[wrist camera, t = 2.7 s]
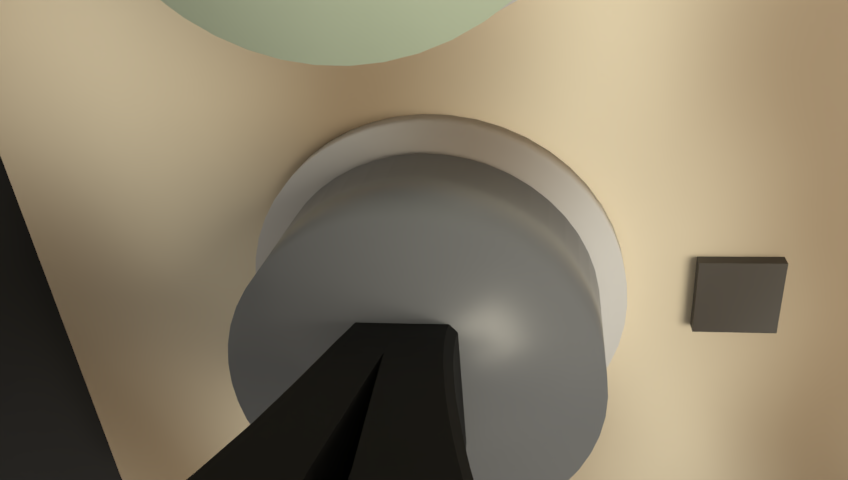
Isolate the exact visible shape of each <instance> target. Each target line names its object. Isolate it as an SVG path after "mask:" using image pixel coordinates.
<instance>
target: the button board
mask: <svg viewBox="0 0 848 480" xmlns="http://www.w3.org/2000/svg"><path fill="white" fill-rule="evenodd" d="M410 154H438V155H448V156H454V157H460V158H466V159H470V160H473V161H476V162H480V163H483V164H487V165H490V166H492V167H494V168H497V169H499V170H501V171H504V172H506V173H508V174H511V175H512V176H514V177H516V178H518V179H519V180H521V181H523V182H524V183H526V184H528V185H529V186H531V187H532V188H534V189H535V190H536V191H538V192H539V193H540V194H542V195H543V196H544V197H545V198H547V199H548V200H549V201H550V202H551V203H552V204H553V205H554V206H555V207H556V208H557V209H558V210H559V211H560V212H561V213H562V214H563V215H564V216H565V217H566V218H567V220H568V221H569V222H570V224H571V225H572V226H573V227H574V229H575V230H576V231H577V233H578V234H579V236H580V238H581V240H582V242H583V243H584V245H585V247H586V249H587V251H588V253H589V255H590V258H591V261H592V263H593V266H594V269H595V272H596V277H597V282H598V287H599V294H600V304H601V315H602V326H603V337H604V347H605V358H606V369H607V383H608V402H607V409H606V417H605V420H604V424H603V427H602V430H601V433H600V436H599V438H598V440H597V442H596V444H595V446H594V448H593V450H592V452H591V454H590V455H589V457H588V458H587V459H586V461H585V462H584V463H583V465H582V466H581V468H580V469H579V470H578V471H577V472H576V473H575V474H574V475H573V476H572V477H571V478H570V479H569V480H848V0H512V1H511V2H509V3H508V4H507V5H505V6H504V7H503V8H502V9H500V10H499V11H498V12H496V13H495V14H494V15H492V16H491V17H490V18H488V19H487V20H486V21H484V22H483V23H481V24H479V25H477V26H476V27H474V28H472V29H470V30H469V31H467V32H465V33H463V34H462V35H460V36H458V37H456V38H454V39H453V40H451V41H448V42H446V43H443V44H441V45H438V46H436V47H433V48H431V49H428V50H426V51H423V52H421V53H418V54H414V55H410V56H406V57H403V58H399V59H395V60H391V61H387V62H381V63H372V64H363V65H354V66H332V65H312V64H305V63H299V62H293V61H286V60H280V59H277V58H274V57H270V56H267V55H263V54H260V53H257V52H253V51H250V50H247V49H244V48H242V47H240V46H237V45H235V44H233V43H231V42H228V41H226V40H224V39H221V38H219V37H217V36H214V35H213V34H211V33H209V32H208V31H206V30H204V29H202V28H201V27H199V26H197V25H196V24H194V23H192V22H190V21H189V20H187V19H185V18H183V17H182V16H181V15H179V14H178V13H177V12H175V11H174V10H173V9H171V8H170V7H169V6H167V5H166V4H165V3H163V2H162V1H161V0H0V156H1V158H2V161H3V164H4V166H5V169H6V172H7V174H8V177H9V180H10V182H11V185H12V188H13V190H14V193H15V196H16V198H17V201H18V204H19V206H20V209H21V212H22V214H23V217H24V220H25V222H26V225H27V228H28V230H29V233H30V236H31V238H32V241H33V244H34V246H35V249H36V252H37V254H38V257H39V260H40V262H41V265H42V268H43V270H44V273H45V276H46V278H47V281H48V284H49V286H50V289H51V292H52V294H53V297H54V300H55V302H56V305H57V308H58V310H59V313H60V316H61V318H62V321H63V324H64V326H65V329H66V332H67V334H68V337H69V340H70V342H71V345H72V348H73V350H74V353H75V356H76V358H77V361H78V364H79V366H80V369H81V372H82V374H83V377H84V380H85V382H86V385H87V388H88V390H89V393H90V396H91V398H92V401H93V404H94V406H95V409H96V412H97V414H98V417H99V420H100V422H101V425H102V428H103V430H104V433H105V436H106V438H107V441H108V444H109V446H110V449H111V452H112V454H113V457H114V460H115V462H116V465H117V468H118V470H119V473H120V476H121V478H122V480H186V479H188V478H189V477H190V476H191V475H193V474H194V473H195V472H196V471H197V470H199V469H200V468H201V467H202V466H203V465H204V464H205V463H207V462H208V461H209V460H210V459H211V458H212V457H214V456H215V455H216V454H217V453H218V452H219V451H220V450H222V449H223V448H224V447H225V446H226V445H227V444H229V443H230V442H231V441H232V440H233V439H234V438H235V437H237V436H238V435H239V434H240V433H241V432H242V431H244V430H245V429H246V428H247V427H248V426H249V425H250V423H249V422H248V420H247V419H246V417H245V415H244V413H243V411H242V409H241V407H240V404H239V402H238V400H237V397H236V394H235V391H234V388H233V385H232V381H231V376H230V370H229V365H228V339H229V332H230V325H231V322H232V318H233V315H234V312H235V309H236V306H237V304H238V302H239V300H240V298H241V296H242V294H243V292H244V290H245V288H246V287H247V286H248V284H249V283H250V281H251V280H252V278H253V277H254V276H255V274H256V273H257V271H258V270H259V268H260V267H261V265H262V264H263V263H264V261H265V260H266V258H267V257H268V255H269V254H270V253H271V251H272V250H273V248H274V247H275V245H276V244H277V242H278V241H279V240H280V238H281V237H282V235H283V234H284V232H285V231H286V230H287V228H288V227H289V225H290V224H291V222H292V221H293V219H294V218H295V217H296V215H297V214H298V213H299V211H300V210H301V209H302V207H303V206H304V205H305V203H306V202H307V201H308V200H309V199H310V198H311V197H312V196H313V195H314V194H315V193H316V192H317V191H318V190H319V189H321V188H322V187H323V186H325V185H326V184H327V183H329V182H330V181H332V180H333V179H334V178H336V177H338V176H339V175H341V174H343V173H345V172H347V171H349V170H351V169H353V168H355V167H358V166H360V165H363V164H366V163H369V162H372V161H374V160H379V159H383V158H388V157H393V156H398V155H410Z"/></svg>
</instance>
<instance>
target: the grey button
mask: <svg viewBox="0 0 848 480" xmlns="http://www.w3.org/2000/svg"><path fill="white" fill-rule="evenodd" d="M355 322H357V323H403V324H449V325H450V326H451V327H452V328H454V329H455V330H456V331H457V332H458V339H459V352H460V366H461V379H462V392H463V406H464V419H465V432H466V452H467V457H468V461H469V465H470V469H471V472H472V476H473V479H474V480H569V479H570V478H571V477H572V476H573V475H574V474H575V473H576V472H577V471H578V470H579V469H580V468H581V466H582V465H583V463H584V462H585V461H586V459H587V458H588V457H589V455H590V454H591V452H592V450H593V448H594V446H595V444H596V442H597V440H598V438H599V436H600V433H601V430H602V427H603V424H604V420H605V417H606V409H607V402H608V383H607V369H606V358H605V347H604V337H603V326H602V315H601V304H600V294H599V287H598V282H597V277H596V272H595V269H594V266H593V263H592V261H591V258H590V255H589V253H588V251H587V249H586V247H585V245H584V243H583V242H582V240H581V238H580V236H579V234H578V233H577V231H576V230H575V229H574V227H573V226H572V225H571V224H570V222H569V221H568V220H567V218H566V217H565V216H564V215H563V214H562V213H561V212H560V211H559V210H558V209H557V208H556V207H555V206H554V205H553V204H552V203H551V202H550V201H549V200H548V199H547V198H545V197H544V196H543V195H542V194H540V193H539V192H538V191H536V190H535V189H534V188H532V187H531V186H529V185H528V184H526V183H524V182H523V181H521V180H519V179H518V178H516V177H514V176H512V175H511V174H508V173H506V172H504V171H501V170H499V169H497V168H494V167H492V166H490V165H487V164H483V163H480V162H476V161H473V160H470V159H466V158H460V157H454V156H448V155H438V154H410V155H398V156H393V157H388V158H383V159H379V160H374V161H372V162H369V163H366V164H363V165H360V166H358V167H355V168H353V169H351V170H349V171H347V172H345V173H343V174H341V175H339V176H338V177H336V178H334V179H333V180H332V181H330V182H329V183H327V184H326V185H325V186H323V187H322V188H321V189H319V190H318V191H317V192H316V193H315V194H314V195H313V196H312V197H311V198H310V199H309V200H308V201H307V202H306V203H305V205H304V206H303V207H302V209H301V210H300V211H299V213H298V214H297V215H296V217H295V218H294V219H293V221H292V222H291V224H290V225H289V227H288V228H287V230H286V231H285V232H284V234H283V235H282V237H281V238H280V240H279V241H278V242H277V244H276V245H275V247H274V248H273V250H272V251H271V253H270V254H269V255H268V257H267V258H266V260H265V261H264V263H263V264H262V265H261V267H260V268H259V270H258V271H257V273H256V274H255V276H254V277H253V278H252V280H251V281H250V283H249V284H248V286H247V287H246V288H245V290H244V292H243V294H242V296H241V298H240V300H239V302H238V304H237V306H236V309H235V312H234V315H233V318H232V322H231V325H230V332H229V339H228V365H229V370H230V376H231V381H232V385H233V388H234V391H235V394H236V397H237V400H238V402H239V404H240V407H241V409H242V411H243V413H244V415H245V417H246V419H247V420H248V422H249V423H250V424H251V423H252V422H254V421H255V420H256V419H257V418H258V417H259V416H260V415H261V414H262V413H263V412H264V411H265V410H266V409H267V408H268V407H269V406H270V405H271V404H272V403H273V402H275V401H276V400H277V399H278V398H279V397H280V396H281V395H282V394H283V393H284V392H285V391H286V390H287V389H288V388H289V387H290V386H291V385H292V384H293V383H294V382H295V381H296V380H297V379H298V378H299V377H300V376H301V375H302V374H303V373H304V372H305V371H306V370H307V369H308V368H309V367H310V366H311V365H312V364H313V363H314V362H315V361H316V360H317V359H318V358H319V357H320V356H321V355H322V354H323V353H324V352H325V351H326V350H327V349H328V348H329V347H330V346H331V345H332V344H333V343H334V342H335V341H336V340H337V339H338V338H339V337H341V336H342V335H343V334H344V333H345V332H346V331H347V330H348V329H349V328H350V327H351V326H352V325H353V324H354V323H355Z"/></svg>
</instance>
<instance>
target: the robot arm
mask: <svg viewBox="0 0 848 480" xmlns="http://www.w3.org/2000/svg"><path fill="white" fill-rule="evenodd" d="M186 480H474V479H473V476H472V472H471V469H470V465H469V461H468V457H467V452H466V432H465V419H464V406H463V392H462V379H461V366H460V352H459V339H458V332H457V331H456V330H455V329H454V328H452V327H451V326H450V325H449V324H403V323H357V322H355V323H354V324H353V325H352V326H351V327H350V328H349V329H348V330H347V331H346V332H345V333H344V334H343V335H342V336H341V337H339V338H338V339H337V340H336V341H335V342H334V343H333V344H332V345H331V346H330V347H329V348H328V349H327V350H326V351H325V352H324V353H323V354H322V355H321V356H320V357H319V358H318V359H317V360H316V361H315V362H314V363H313V364H312V365H311V366H310V367H309V368H308V369H307V370H306V371H305V372H304V373H303V374H302V375H301V376H300V377H299V378H298V379H297V380H296V381H295V382H294V383H293V384H292V385H291V386H290V387H289V388H288V389H287V390H286V391H285V392H284V393H283V394H282V395H281V396H280V397H279V398H278V399H277V400H276V401H275V402H273V403H272V404H271V405H270V406H269V407H268V408H267V409H266V410H265V411H264V412H263V413H262V414H261V415H260V416H259V417H258V418H257V419H256V420H255V421H254V422H252V423H251V424H250V425H249V426H248V427H247V428H246V429H245V430H244V431H242V432H241V433H240V434H239V435H238V436H237V437H235V438H234V439H233V440H232V441H231V442H230V443H229V444H227V445H226V446H225V447H224V448H223V449H222V450H220V451H219V452H218V453H217V454H216V455H215V456H214V457H212V458H211V459H210V460H209V461H208V462H207V463H205V464H204V465H203V466H202V467H201V468H200V469H199V470H197V471H196V472H195V473H194V474H193V475H191V476H190V477H189V478H188V479H186Z"/></svg>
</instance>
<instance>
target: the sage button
mask: <svg viewBox="0 0 848 480" xmlns="http://www.w3.org/2000/svg"><path fill="white" fill-rule="evenodd" d="M161 1H162V2H163V3H165V4H166V5H167V6H169V7H170V8H171V9H173V10H174V11H175V12H177V13H178V14H179V15H181V16H182V17H183V18H185V19H187V20H189V21H190V22H192V23H194V24H196V25H197V26H199V27H201V28H202V29H204V30H206V31H208V32H209V33H211V34H213V35H214V36H217V37H219V38H221V39H224V40H226V41H228V42H231V43H233V44H235V45H237V46H240V47H242V48H244V49H247V50H250V51H253V52H257V53H260V54H263V55H267V56H270V57H274V58H277V59H280V60H286V61H293V62H299V63H305V64H312V65H332V66H354V65H363V64H372V63H381V62H387V61H391V60H395V59H399V58H403V57H406V56H410V55H414V54H418V53H421V52H423V51H426V50H428V49H431V48H433V47H436V46H438V45H441V44H443V43H446V42H448V41H451V40H453V39H454V38H456V37H458V36H460V35H462V34H463V33H465V32H467V31H469V30H470V29H472V28H474V27H476V26H477V25H479V24H481V23H483V22H484V21H486V20H487V19H488V18H490V17H491V16H492V15H494V14H495V13H496V12H498V11H499V10H500V9H502V8H503V7H504V6H505V5H507V4H508V3H509V2H511V1H512V0H161Z"/></svg>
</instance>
